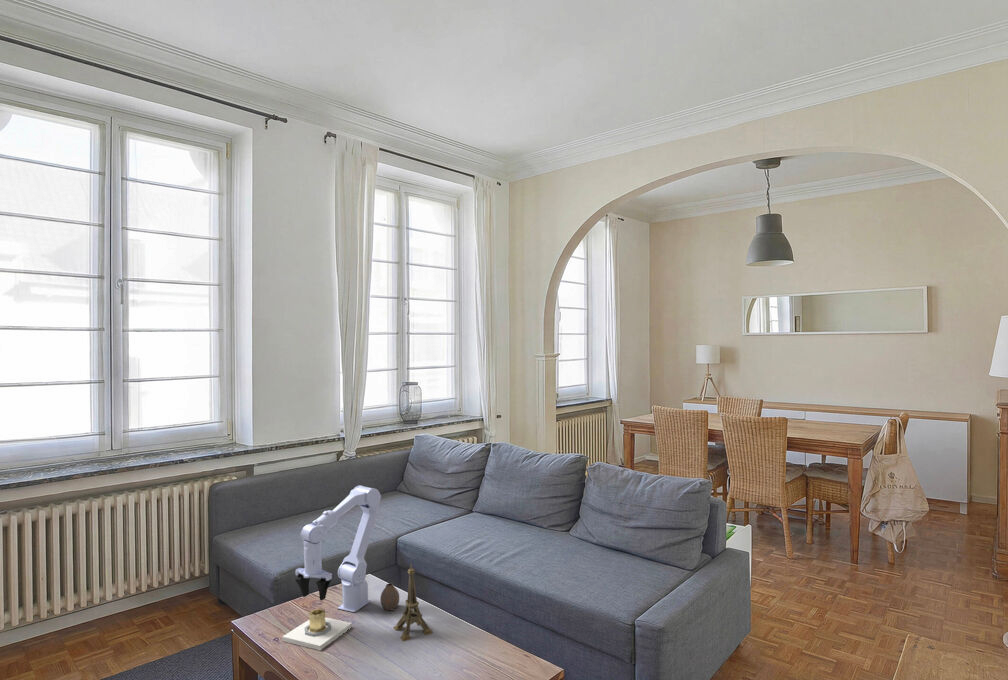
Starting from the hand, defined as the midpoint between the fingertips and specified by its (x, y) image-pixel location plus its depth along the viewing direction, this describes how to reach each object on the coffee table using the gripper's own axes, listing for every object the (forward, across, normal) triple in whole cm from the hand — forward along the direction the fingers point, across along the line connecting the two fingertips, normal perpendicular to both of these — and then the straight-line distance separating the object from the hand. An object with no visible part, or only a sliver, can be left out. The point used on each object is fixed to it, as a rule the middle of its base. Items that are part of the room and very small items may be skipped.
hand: (314, 597), depth 208 cm
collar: (+8, +6, -5) cm, 11 cm away
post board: (+9, +6, -5) cm, 12 cm away
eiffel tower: (+10, +35, +8) cm, 37 cm away
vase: (+10, +18, +20) cm, 28 cm away
